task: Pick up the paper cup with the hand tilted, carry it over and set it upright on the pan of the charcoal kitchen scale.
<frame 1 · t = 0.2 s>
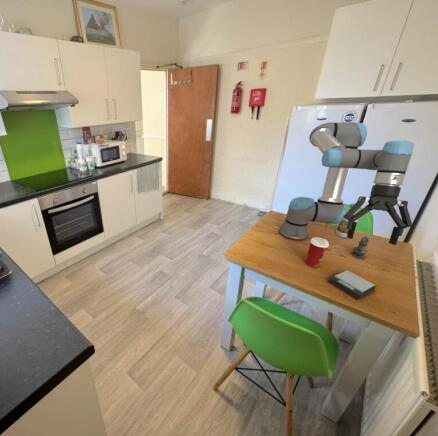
hand: (370, 241, 91), 27 cm above the table, tool tilted 15°, fingers open, 13 cm apart
milk bottle: (342, 234, 145), on the table
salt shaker: (357, 255, 127), on the table
scale: (350, 286, 107), on the table
paper cup: (311, 263, 122), on the table
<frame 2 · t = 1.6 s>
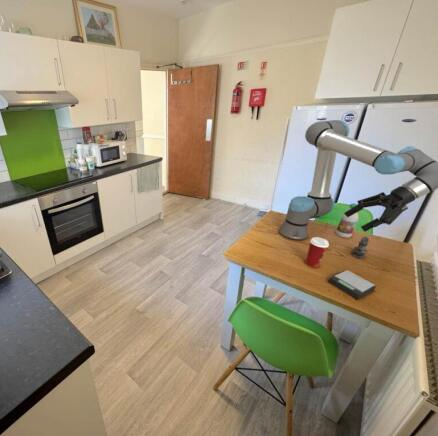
hand: (353, 221, 108), 25 cm above the table, tool tilted 45°, fingers open, 13 cm apart
nothing on the table moved.
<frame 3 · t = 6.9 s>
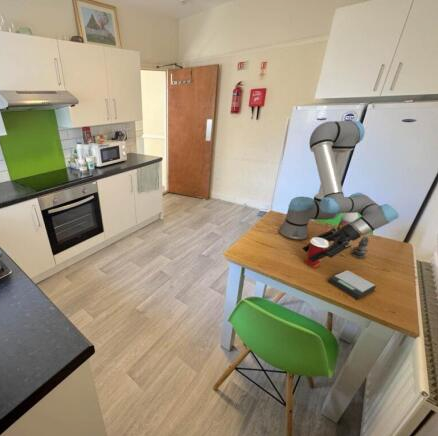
hand: (307, 254, 120), 5 cm above the table, tool tilted 45°, fingers closed on paper cup, 8 cm apart
paper cup: (311, 263, 122), on the table, touching gripper
everything else where it was.
when the fingers open (8 cm above the table, at t = 15.9 s): paper cup stays where it is, resting on scale.
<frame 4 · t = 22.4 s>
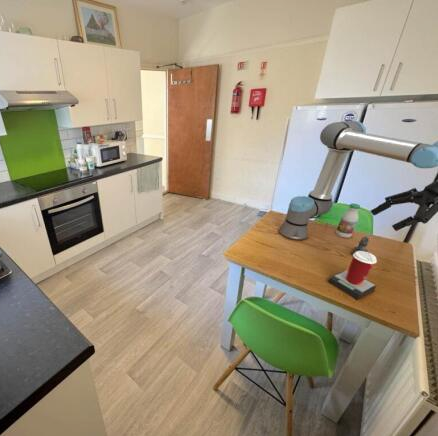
hand: (382, 220, 100), 30 cm above the table, tool tilted 45°, fingers open, 13 cm apart
paper cup: (353, 281, 106), point 3 cm above the table, touching scale
everything else where it was.
at the end: paper cup inside the target area on the scale (0.5 cm from its centre), point 3.0 cm above the scale's base; paper cup tilted 0°; the gripper is holding nothing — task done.
